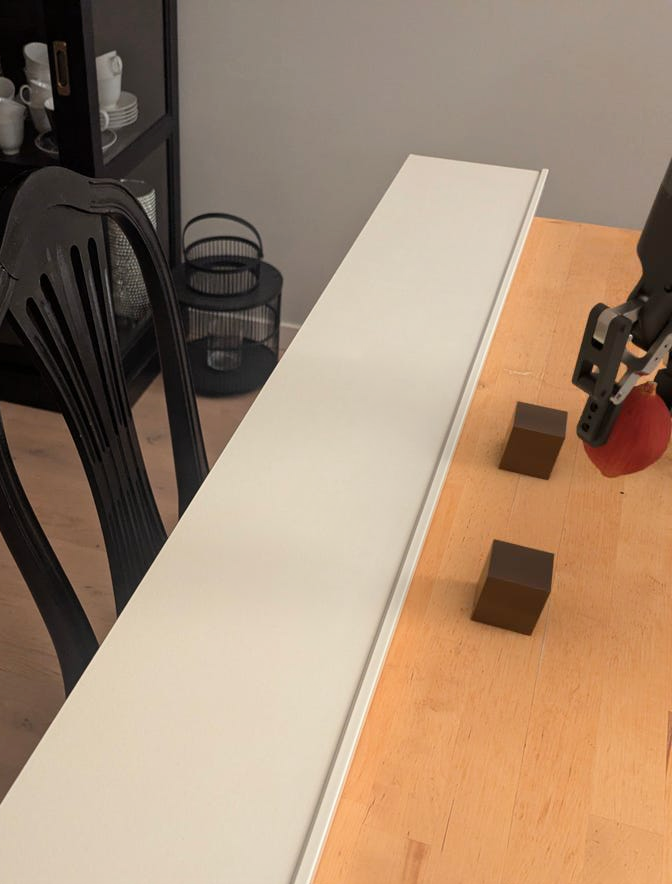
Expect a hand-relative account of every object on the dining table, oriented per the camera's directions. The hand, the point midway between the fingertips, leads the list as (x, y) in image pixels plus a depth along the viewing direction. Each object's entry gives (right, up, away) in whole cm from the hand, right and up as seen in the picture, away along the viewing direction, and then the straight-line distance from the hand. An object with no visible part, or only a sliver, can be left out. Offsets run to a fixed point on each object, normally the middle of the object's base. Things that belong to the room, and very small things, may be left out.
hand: (621, 430), depth 66 cm
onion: (0, -3, +3) cm, 4 cm away
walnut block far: (+3, +3, +27) cm, 28 cm away
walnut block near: (-5, -13, +12) cm, 18 cm away
